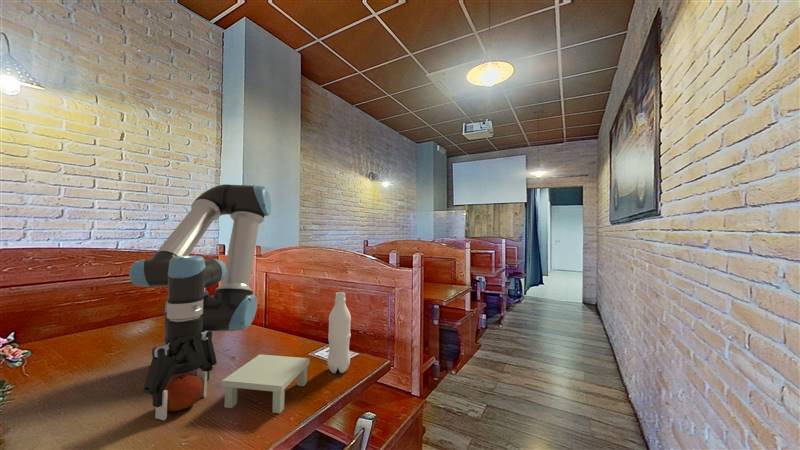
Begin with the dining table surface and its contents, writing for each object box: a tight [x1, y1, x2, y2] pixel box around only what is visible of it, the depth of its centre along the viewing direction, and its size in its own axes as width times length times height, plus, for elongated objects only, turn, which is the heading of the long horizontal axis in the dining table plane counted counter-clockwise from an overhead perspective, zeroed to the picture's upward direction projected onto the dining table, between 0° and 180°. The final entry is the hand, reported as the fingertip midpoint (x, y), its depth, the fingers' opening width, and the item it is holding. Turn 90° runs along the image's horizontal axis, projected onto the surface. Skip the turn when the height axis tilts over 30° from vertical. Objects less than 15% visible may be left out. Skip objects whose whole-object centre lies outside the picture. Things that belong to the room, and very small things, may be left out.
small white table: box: [221, 353, 311, 414], centre depth 82 cm, size 16×16×7 cm
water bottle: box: [327, 291, 352, 374], centre depth 97 cm, size 7×7×25 cm
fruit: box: [164, 373, 204, 412], centre depth 76 cm, size 9×9×8 cm
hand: (182, 406), depth 76 cm, fingers open, 10 cm apart
